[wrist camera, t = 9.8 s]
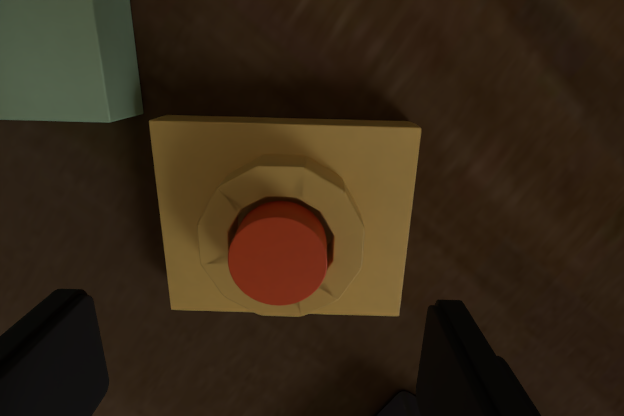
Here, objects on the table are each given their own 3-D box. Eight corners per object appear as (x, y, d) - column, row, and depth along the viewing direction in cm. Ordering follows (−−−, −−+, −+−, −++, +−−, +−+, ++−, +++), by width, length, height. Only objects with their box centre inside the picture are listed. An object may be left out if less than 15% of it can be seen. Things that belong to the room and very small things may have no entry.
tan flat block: (184, 288, 20) (154, 337, 17) (166, 114, 17) (124, 127, 13) (391, 293, 20) (408, 344, 17) (410, 121, 17) (436, 135, 13)
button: (238, 280, 16) (229, 304, 14) (235, 198, 15) (224, 215, 13) (324, 283, 16) (325, 307, 14) (328, 201, 15) (329, 218, 13)
